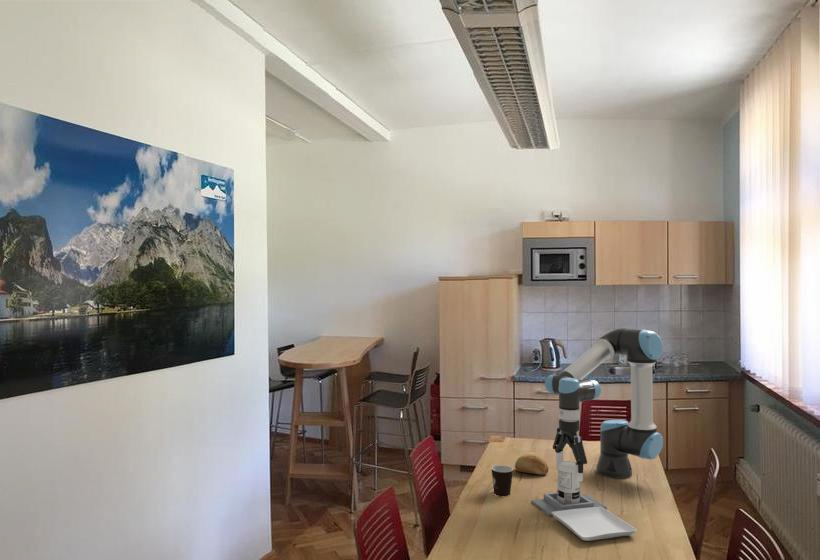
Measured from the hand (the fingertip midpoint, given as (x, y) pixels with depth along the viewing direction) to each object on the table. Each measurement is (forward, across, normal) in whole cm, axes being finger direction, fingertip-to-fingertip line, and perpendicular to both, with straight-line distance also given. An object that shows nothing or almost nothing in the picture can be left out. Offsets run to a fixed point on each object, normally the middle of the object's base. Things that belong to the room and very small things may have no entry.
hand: (569, 475), depth 227 cm
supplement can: (+11, 0, 0) cm, 11 cm away
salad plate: (+12, +20, -3) cm, 24 cm away
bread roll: (+12, -38, +4) cm, 40 cm away
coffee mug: (+12, -20, -19) cm, 30 cm away
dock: (+12, 0, -1) cm, 12 cm away
